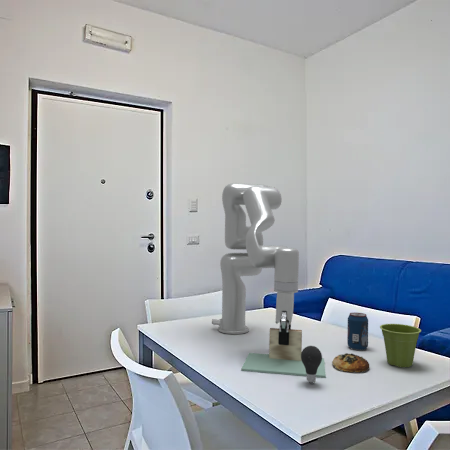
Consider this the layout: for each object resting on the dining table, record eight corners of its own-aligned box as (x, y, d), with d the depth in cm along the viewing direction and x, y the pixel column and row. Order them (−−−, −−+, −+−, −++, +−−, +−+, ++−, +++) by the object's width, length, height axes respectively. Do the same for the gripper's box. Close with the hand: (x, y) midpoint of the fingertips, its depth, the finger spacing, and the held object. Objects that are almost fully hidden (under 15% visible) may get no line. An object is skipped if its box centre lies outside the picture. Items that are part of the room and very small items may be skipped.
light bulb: (298, 379, 114) (298, 343, 114) (318, 379, 114) (318, 343, 114) (303, 387, 108) (304, 349, 108) (324, 386, 108) (325, 348, 109)
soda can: (350, 344, 150) (350, 311, 150) (369, 347, 146) (370, 313, 146) (345, 348, 144) (345, 314, 144) (365, 352, 140) (365, 317, 140)
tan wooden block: (269, 358, 130) (269, 329, 130) (270, 355, 133) (270, 327, 133) (301, 360, 128) (301, 331, 128) (301, 358, 130) (301, 329, 131)
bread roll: (378, 369, 123) (376, 352, 123) (351, 381, 117) (349, 363, 117) (349, 360, 132) (347, 345, 132) (324, 370, 127) (322, 354, 127)
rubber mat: (241, 370, 120) (241, 368, 120) (249, 354, 136) (249, 352, 136) (325, 377, 115) (325, 375, 115) (324, 360, 131) (324, 358, 131)
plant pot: (371, 360, 131) (371, 325, 132) (400, 356, 136) (400, 322, 136) (399, 372, 120) (399, 334, 120) (429, 368, 125) (430, 331, 125)
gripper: (276, 282, 140) (275, 332, 140) (271, 290, 123) (270, 347, 123) (298, 283, 138) (297, 334, 139) (297, 291, 121) (295, 349, 122)
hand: (284, 340), depth 131 cm, fingers open, 9 cm apart
